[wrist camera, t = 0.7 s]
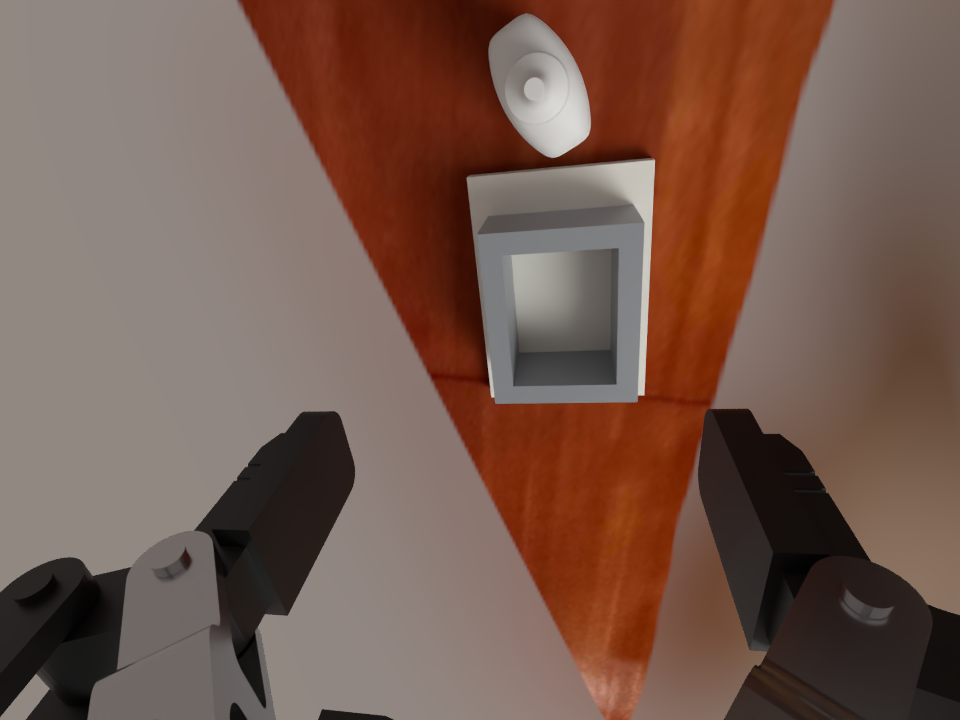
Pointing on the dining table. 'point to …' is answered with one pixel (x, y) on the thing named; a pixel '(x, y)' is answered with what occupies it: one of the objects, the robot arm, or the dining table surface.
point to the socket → (565, 280)
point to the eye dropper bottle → (539, 86)
